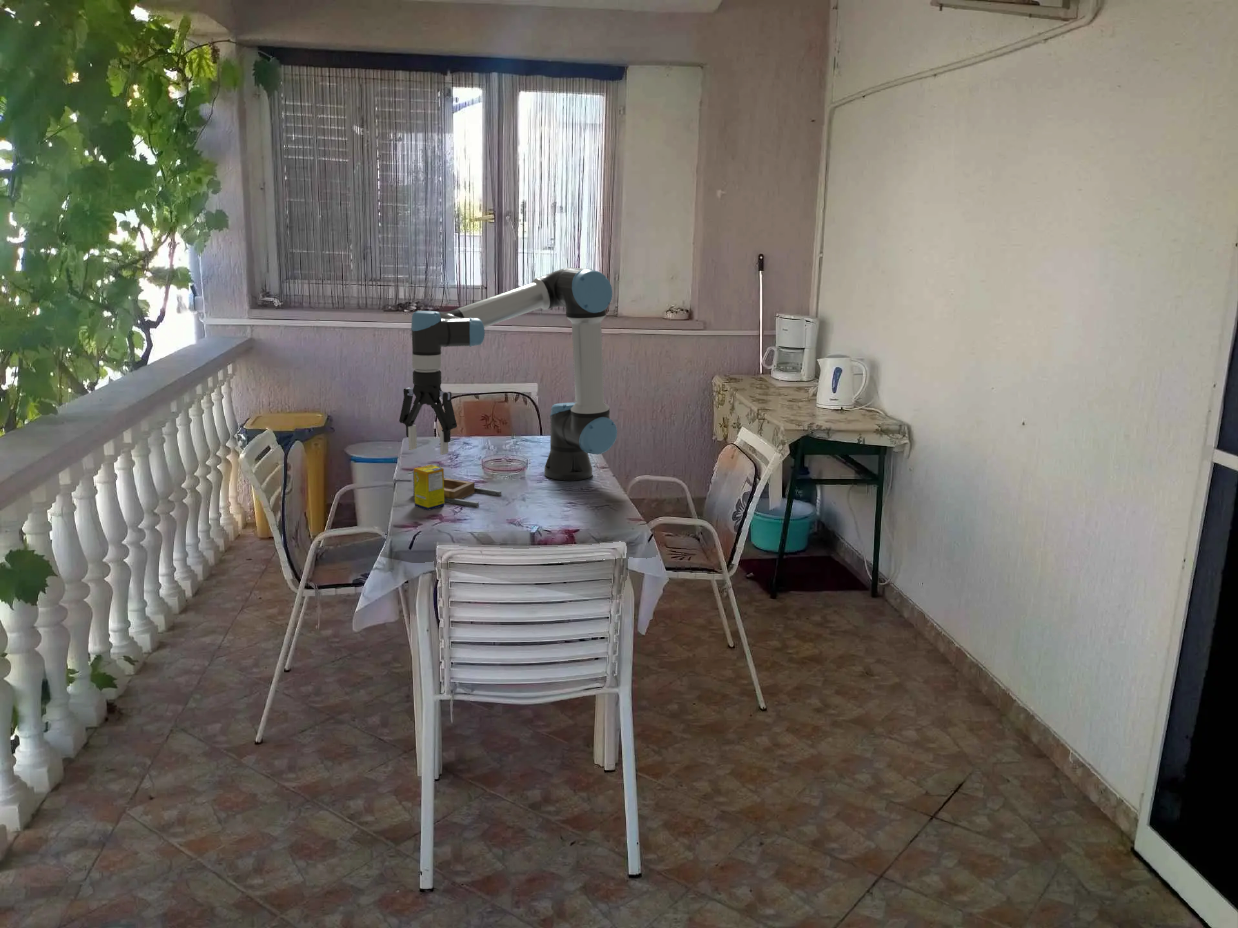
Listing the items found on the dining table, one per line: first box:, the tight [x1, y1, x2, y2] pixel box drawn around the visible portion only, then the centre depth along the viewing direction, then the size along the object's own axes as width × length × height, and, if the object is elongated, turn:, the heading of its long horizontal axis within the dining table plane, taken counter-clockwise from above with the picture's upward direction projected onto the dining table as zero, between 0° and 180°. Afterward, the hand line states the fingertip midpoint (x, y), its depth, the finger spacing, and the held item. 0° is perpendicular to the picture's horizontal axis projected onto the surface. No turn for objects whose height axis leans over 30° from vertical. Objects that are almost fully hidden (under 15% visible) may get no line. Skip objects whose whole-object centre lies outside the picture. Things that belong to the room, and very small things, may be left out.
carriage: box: [444, 477, 476, 500], centre depth 268 cm, size 11×11×3 cm
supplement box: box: [413, 464, 445, 511], centre depth 256 cm, size 6×6×11 cm
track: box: [412, 463, 502, 508], centre depth 267 cm, size 22×14×7 cm, turn 67°
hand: (428, 451), depth 253 cm, fingers open, 9 cm apart
